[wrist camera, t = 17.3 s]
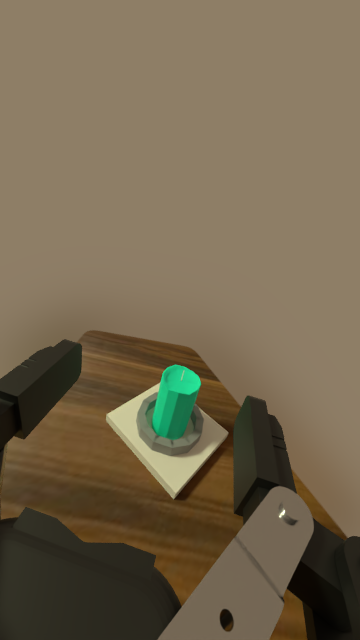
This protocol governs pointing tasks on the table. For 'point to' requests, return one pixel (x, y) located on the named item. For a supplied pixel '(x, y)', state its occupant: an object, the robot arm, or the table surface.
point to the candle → (175, 401)
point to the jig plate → (159, 462)
